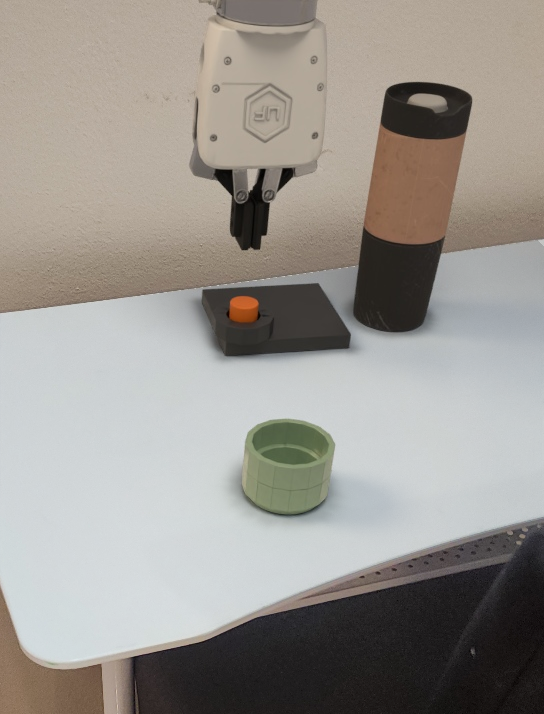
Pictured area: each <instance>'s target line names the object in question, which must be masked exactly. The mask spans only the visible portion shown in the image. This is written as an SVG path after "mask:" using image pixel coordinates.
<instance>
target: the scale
mask: <svg viewBox="0 0 544 714" xmlns="http://www.w3.org/2000/svg"><path fill="white" fill-rule="evenodd" d="M238 296H248V297H252V298H254V299H256V300H257V301H258V303H259V305H258V317H257V320H256V321H254V322H247V323H241V322H236V321H233V320H231V319H230V318H229V313H230V301H231V300H232V299H233V298H235V297H238ZM201 304H202V306H203V309H204V311H205V313H206V315H207V317H208V320H209V322H210V324H211V329H212V332H213V334H214V336H215V338H217V340H218V343H219V345H220V347H221V350H222V352H223V354H224V356H225V357H229V356H243V355H260V354H263V355H264V354H276V353H292V352H307V351H309V352H310V351H322V350H323V351H324V350H338V349H349V348H350V346H351V345H350V344H351V338H352V333H351V332H350V331H349V329H348V327H347V326H346V324H345V322H344V321H343V319H342V318H341V316H340V315H339V313H338V311H337V310H336V308H335V307H334V305H333V303H332V302H331V300H330V299H329V297H328V296H327V294H326V293H325V291H324V289H323V288H322V286H321V285H320V283H319V282H315V283H313V282H312V283H311V282H310V283H295V284H293V283H292V284H277V285H258V286H257V285H255V286H239V287H237V286H236V287H220V288H219V287H217V288H204V289H202V291H201Z"/></svg>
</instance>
